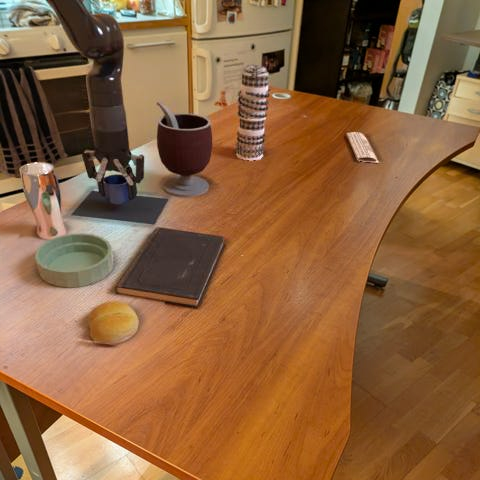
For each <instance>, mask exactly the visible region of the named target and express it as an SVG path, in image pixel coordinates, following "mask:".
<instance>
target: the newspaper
mask: <svg viewBox="0 0 480 480" xmlns="http://www.w3.org/2000/svg"><path fill="white" fill-rule="evenodd" d="M346 137H347V139H348V142H349V144H350V147H351V149H352V152H353V154H354V156H355V158H356V161H357V162H360V161H362V162H360V163H365V162H371V163H378V164H380V161H379V160H378V158H377V155H376V153H375V152H374V150H373V148H372V147H371V144H370V142H369V140H368V139H367V137H365V134H363V133H362V132H357V131H351V132H346ZM371 163H370V164H371Z"/></svg>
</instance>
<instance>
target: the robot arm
mask: <svg viewBox="0 0 480 480" xmlns="http://www.w3.org/2000/svg"><path fill="white" fill-rule="evenodd" d="M84 1H85V0H45V2H46V3H47V4H48V5H49V7H50V8H51V9H52V10H53V12H54V13H55V16H56V19H57V20H58V21H59V24H60V26H61V27H62V30H63V31H64V32H65V35H66V37H67V38H68V41H69V42H70V44H71V45H72V46H73V48H74V49H75V50H76V51H77V52H78V53H79V54H80V55H81V56H83V57H84V58H87V59H89V60H92V66H91V69H90V70H89V71H88V72H87V73H86V76H85V85H86V92H87V98H88V106H89V107H88V108H89V123H90V126H91V131H92V140H93V145H94V150H90V149H86V150H84V151H83V153H81V157H82V160H83V161H82V162H83V165H84V169H85V171H86V174H87V178H88V179H90V180H92V179H93V180H95V181H96V184H97V189H98V190H97V191H99V193H100V194H101V196H102V197H105V195H104V188H103V182H102V180H103V178H104V177H106V173H107V172H116V173H120V175H122V176H123V177H125V179H126V180H127V182H128V183H129V185H128V190H129V199H131V200H133V199H134V198H135V197H136V195H138V187H137V184H138V185H139V184H141V183H142V181H143V180H144V177H145V155H144V154H138V155H136V154H133V153H132V152H131V149H130V141H129V139H130V138H129V130H128V122H127V121H128V120H127V113H126V108H125V104H124V103H125V102H124V95H123V94H124V93H123V85H122V75H123V67H124V55H125V54H124V53H125V41H124V34H123V31H122V28H121V25H120V24H119V22H118V21H117V18H115V17H114V16H112V15H111V14H110V13H107V12H99V13H94V14H91V13H90V11H89V10H88V9H87V7H86V5H85V4H84ZM95 159H96V160H97V162H98V163H99V164H100V165H99V167H98V169H97V168H96V164H95V161H94V160H95ZM131 161H132V163H133V166H135V173H134V172H133V168H132V167H131V164H130V162H131Z"/></svg>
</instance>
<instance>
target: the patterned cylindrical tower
mask: <svg viewBox="0 0 480 480" xmlns="http://www.w3.org/2000/svg"><path fill="white" fill-rule="evenodd" d="M240 73H241V83H240V90H239V91H238V94H237V96H238V98H237V102H238V106H237V117H238V118H239V121H238V123H239V125H238V129H237V130H238V131H237V132H236V135H237V137H236V141H237V142H236V144H235V146H236V148H235V151H236V153H235V156H236V155H237V156H236V158H238V159H240V160H242V159H243V161H247V160H249V161H248V162H254V161H253V160H256V161H260V160H262V159H263V158H262V157H264V151H265V150H264V149H265V145H264V143H265V140H266V139H265V136H266V133H265V130H266V129H265V128H266V127H265V121H266V119H267V116H268V114H267V113H266V111H268V110H269V107H268V106H267V105H269V103H270V102H269V100H267V99H268V98H269V97H270V96H271V95H270V93H269V92H270V91H271V89H270V88H269V76H270V72H269V71H268V70H267V68H266V67H265V66H264V65H260V64H248V65H246V66H245V67H244V68H243V70H241V71H240ZM261 158H262V159H261Z"/></svg>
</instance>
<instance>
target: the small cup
mask: <svg viewBox="0 0 480 480" xmlns="http://www.w3.org/2000/svg"><path fill="white" fill-rule="evenodd" d="M102 182H103V188H104V195H105V199H106V201H107V202H109V203H113V204H122V203H126V202H129V201H130V200H131V199H129V190H128V185H129V183H128V182H127V180H126V179H125V177H123V176H122V174H121V173H120V174H118V173H117V174H116V173H115V174H109V175H105V176H104V178H103V180H102Z"/></svg>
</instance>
